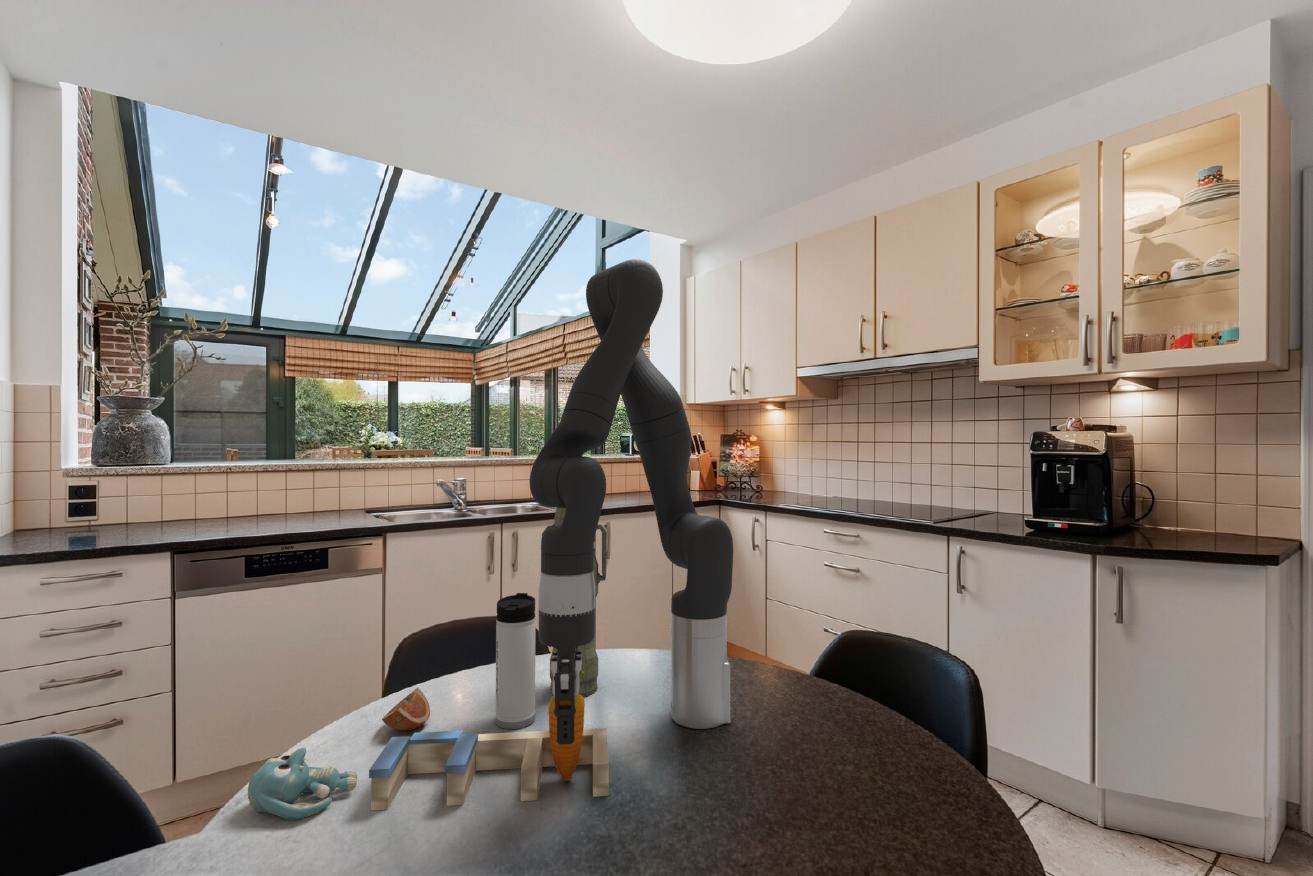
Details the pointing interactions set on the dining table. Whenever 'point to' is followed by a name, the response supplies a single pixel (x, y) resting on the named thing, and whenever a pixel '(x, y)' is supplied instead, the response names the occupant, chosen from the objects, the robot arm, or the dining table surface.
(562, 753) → the carrot
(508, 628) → the travel mug
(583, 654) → the thermos
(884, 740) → the dining table surface
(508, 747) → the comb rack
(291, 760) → the stuffed animal
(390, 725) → the fruit slice
